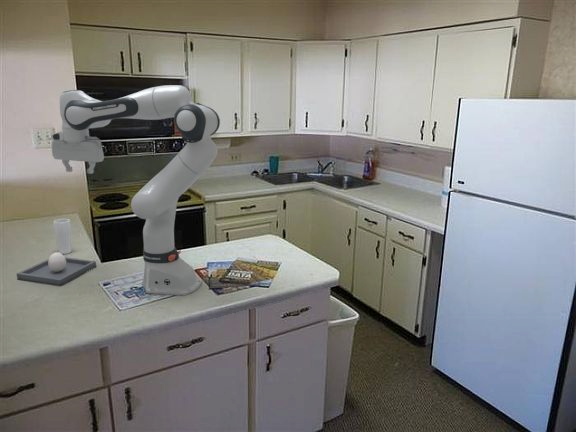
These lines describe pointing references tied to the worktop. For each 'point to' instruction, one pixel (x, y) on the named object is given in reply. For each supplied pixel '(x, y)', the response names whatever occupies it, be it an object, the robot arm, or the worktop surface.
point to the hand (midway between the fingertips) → (79, 172)
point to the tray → (48, 276)
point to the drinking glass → (63, 235)
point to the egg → (57, 262)
